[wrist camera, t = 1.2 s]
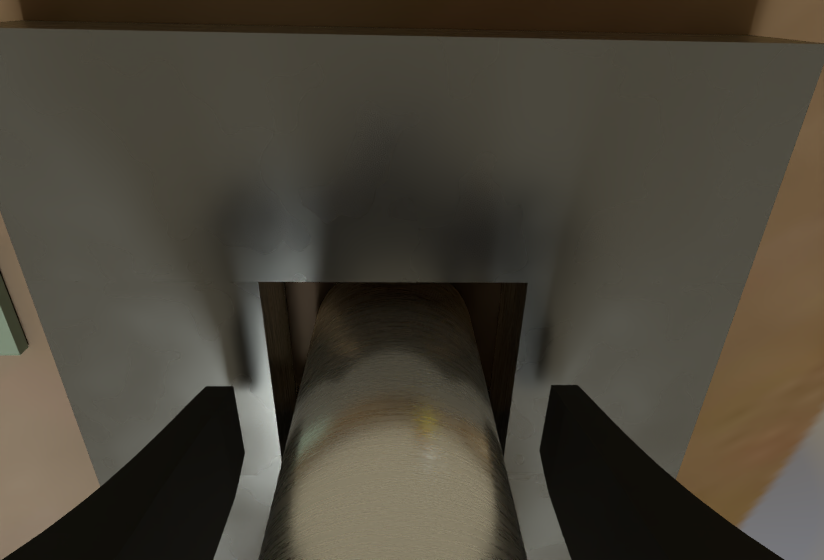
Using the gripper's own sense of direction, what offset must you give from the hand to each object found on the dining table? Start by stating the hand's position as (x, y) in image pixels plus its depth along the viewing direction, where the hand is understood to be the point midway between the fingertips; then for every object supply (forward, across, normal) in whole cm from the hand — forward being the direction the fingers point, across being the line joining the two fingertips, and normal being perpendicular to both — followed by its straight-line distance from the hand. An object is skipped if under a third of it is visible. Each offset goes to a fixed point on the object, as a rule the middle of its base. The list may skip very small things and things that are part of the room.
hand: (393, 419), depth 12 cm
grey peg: (+4, 0, 0) cm, 4 cm away
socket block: (+4, 0, 0) cm, 4 cm away
